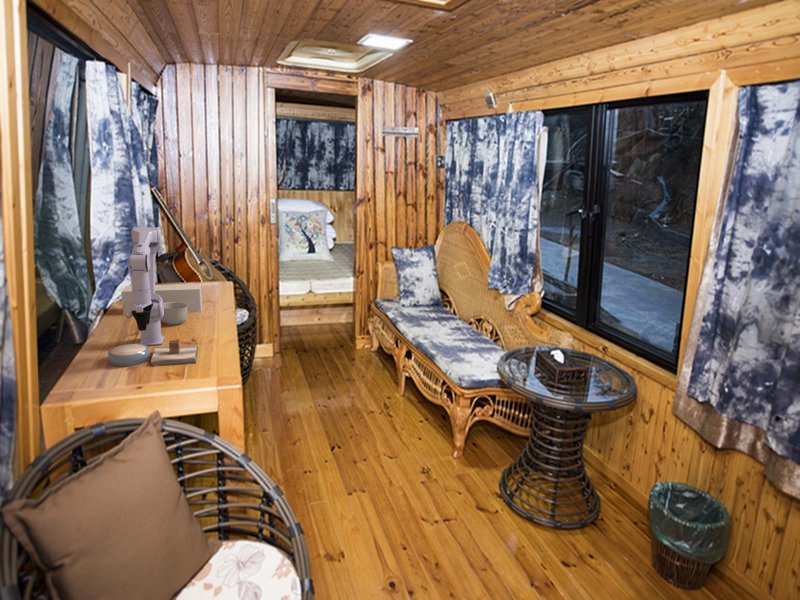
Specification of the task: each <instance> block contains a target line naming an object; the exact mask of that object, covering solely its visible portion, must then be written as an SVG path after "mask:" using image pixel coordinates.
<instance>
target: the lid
mask: <svg viewBox="0 0 800 600" xmlns="http://www.w3.org/2000/svg"><path fill="white" fill-rule="evenodd" d="M197 346H198V345H197V344H185V345H180V340H179V339H174V340H169V343H168V346H156V347H155V348H154V351H153V353H152V356H151V358H150V359H151V360H150V364H151V365H152V364H153V363H168V362H182V361H195V356H196V350H197Z"/></svg>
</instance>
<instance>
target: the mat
mask: <svg viewBox="0 0 800 600" xmlns="http://www.w3.org/2000/svg"><path fill="white" fill-rule="evenodd" d="M198 350H199V346H198V345H197V350H196V356H195V361H182V362H168V363H153V364H151V367H156V366H155V365H163V366H175V365H177V364H178V365H189V364H188V363H192V364H196V363H197V358H196V357H197V356H198Z"/></svg>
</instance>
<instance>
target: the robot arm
mask: <svg viewBox="0 0 800 600" xmlns="http://www.w3.org/2000/svg"><path fill="white" fill-rule="evenodd" d="M131 240H132V243H133V247H132V251H131V255H130V256H127V269H128V272H129V274H128V275H129V277H130V282H131V285H130V286H132V296H133V302H129V305H134V311H132V312H131V313H132V315H131V316H132V317H133V318H134V320H135V321H136V324H137V328H138V331H139V332H140V333H139V334H140V341H139V343H138V344H144V345H147V346H154V345H155V346H156V345H163V342H164V339H165V335H162V326H161V322H162V321H161V320H160V318H162V317H163V316H164V306H163V299H162V298H161V297H160V296H159V295H157V294H155V285H156V256H157V253H159V252H160V251H161V250H162V229H161V227H160V226H157V227H152V226H151V227H149V226H148V227H145V226H142V227H135V226H133V227H132V229H131Z"/></svg>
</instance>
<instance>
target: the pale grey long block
mask: <svg viewBox="0 0 800 600" xmlns="http://www.w3.org/2000/svg"><path fill="white" fill-rule="evenodd" d="M202 291H203V289H202V283H182V284H181V283H180V284H177V283H176V284H155V294H157V295H159V296H160V297H161V298H162V299H163V303H167V302H183V303H186V304H187V305H188V307H187V310H188V313H197V312H198V313H201V312H202V309H203V292H202ZM120 292H121V303H122V313H123V314H132V313H131V312H132V311H134V305H129V302H133V296H132V285H125V286H124V287H123V289H122V290H121V291H120ZM123 314H122V315H123Z"/></svg>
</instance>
